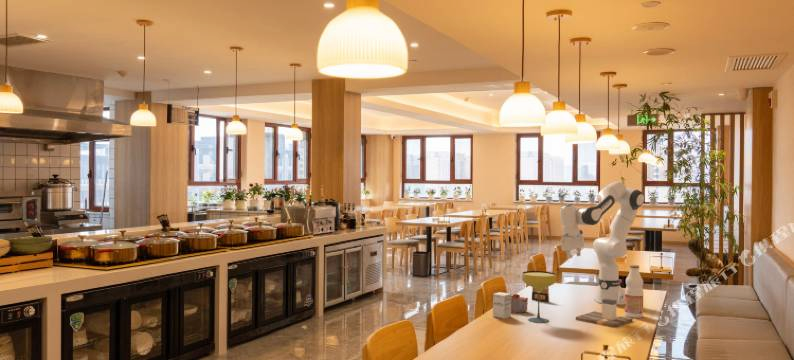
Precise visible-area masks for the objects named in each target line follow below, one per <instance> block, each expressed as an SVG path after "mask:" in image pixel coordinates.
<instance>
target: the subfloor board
mask: <svg viewBox="0 0 794 360" xmlns="http://www.w3.org/2000/svg"><path fill="white" fill-rule="evenodd" d="M575 320H576V321H581V322H585V323H591V324H595V325H601V326H604V327H605V326H606V327H610V328H617V327H621V326H623V325H626V324H627V323H628V324H629V323H632V322H633V318H632V317H627V316H620V315H617V314H616V319H615V320H609V319H604V318H602V311H596V310H595V311H591V312H587V313H585V314H580V315H577V316H575Z"/></svg>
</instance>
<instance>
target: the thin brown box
mask: <svg viewBox="0 0 794 360" xmlns="http://www.w3.org/2000/svg"><path fill="white" fill-rule="evenodd" d="M531 288H532V289H531V290H532V291H531V301H536V302H538V292H537V291H536V290H535V289H534V288H533V287H531ZM549 290H550V289H549V287H546V288H544V289H543V290H542V291H541V292H540V295H539V302H542V303H543V302H544V303H549V302H550V293H549Z"/></svg>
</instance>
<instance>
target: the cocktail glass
mask: <svg viewBox="0 0 794 360" xmlns="http://www.w3.org/2000/svg"><path fill="white" fill-rule="evenodd" d="M521 279H522V281H523V283H525V284H527V285H528V286H530V287H531V288H532V287H533V288H534V289H535V290H536V291H537V292H538V301H537V315H536V317H529V318H527V320H528V321H529V322H530V323H537V324H546V323H549V322H550V321H549V319H547V318H544V317H541V315H540V313H541V312H540V301H539V295H540V292H541V291H542V290H543V289H544V288H546V287H548V288H549V287H551V286H553V285H554V284H555V283H556V282H557V280H558V279H557V274H556V273H555V272H551V271H545V270H528V271H527V270H526V271H523V272H521Z"/></svg>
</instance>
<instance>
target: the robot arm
mask: <svg viewBox="0 0 794 360" xmlns="http://www.w3.org/2000/svg"><path fill="white" fill-rule="evenodd" d="M596 199H597V202H598V203H597V204H596V205H595V206H589V207H586V208H585V207H583V208H581V207H577V206H575V205H574V204H573V203H569V204H565V205H562V206H561V207H559V217H560V222H561V230H562V231H561V232H562V235H561V238H560V248H561V251H562V252H565V253H566V255H567V258H568V259H573V255H572V253H571V252H572V251H573V250H575V249H576V257H581V255H582V254H581V253H582V248H584V247H585V237H584V235H583V234H584V231H583V230H582V229H580V228H579V226H595V225H597V224H598V223H599V222H600V220H601V218H602V216H604V214H605V213H607V212H608V211H609V210H610V209H611V208H612V207H613V205H615V204H620V207H619V209H618V210H617V212H616V213H615V215H614V217H613V219H612V221H611V223H610V225H609V230H610V234H609V237H606V236H605V237H604V236H603V237H598V238H595V240H594V241H593V243H592V248H593V251H594V252H595V254H596V256H597V261H598V265H599V270H598V271H599V275H598V276H599V277H598V281H597V282H598V285H597V287H596V291H595V297H594V298H593V301H595V302H596V303H599V304H602V299H612V300H617V305H619V306H620V305H621V306H623V305H624V306H625V290H624V288H622V287H621V283H622V279H619V273H620V271H619V268H620V267H619V265H618V263H617V262H616V259H618V258H622V257H624V256H625V255H626V254H627V251H628V247H627V245H626V242H627V237H628V234H629V231H630V229H631V228H632V226H633V223H634V222H635V219H636V216H637V213H638V209H639V208H640V207H642V205H643V204H644V202H645V194H644V192H643V191H642V190H639V189H635V188H633V187H630V186H629V187H628V186H626V185H625V184H624V182H622V181H620V180H619V181H618V180H617V181H613V182H611V183H609V184H607V185H606V186H605V187H603V188H602V189H600V190H599V191H598V193H597V195H596ZM571 250H572V251H571ZM617 305H616V306H617Z"/></svg>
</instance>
